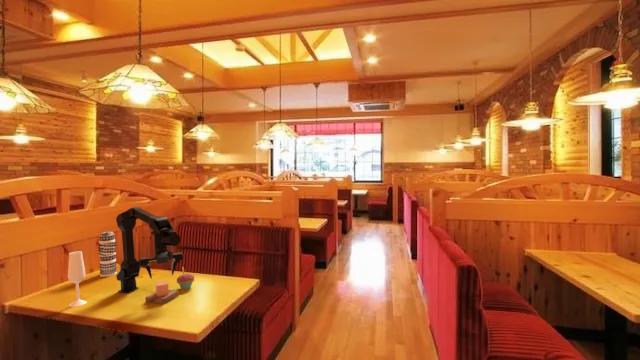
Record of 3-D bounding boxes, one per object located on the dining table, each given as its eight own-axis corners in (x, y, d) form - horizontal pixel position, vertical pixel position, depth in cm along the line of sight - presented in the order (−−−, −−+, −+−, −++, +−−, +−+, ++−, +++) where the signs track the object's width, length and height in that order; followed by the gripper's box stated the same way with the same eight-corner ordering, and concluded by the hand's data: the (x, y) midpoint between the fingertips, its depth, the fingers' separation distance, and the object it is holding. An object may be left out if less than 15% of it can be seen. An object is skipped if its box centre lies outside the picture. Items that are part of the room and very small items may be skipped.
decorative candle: (103, 277, 191) (102, 234, 190) (96, 275, 196) (94, 232, 195) (120, 273, 199) (118, 231, 198) (112, 270, 204) (111, 230, 203)
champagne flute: (76, 300, 159) (74, 250, 158) (90, 300, 159) (88, 250, 158) (65, 306, 152) (62, 254, 151) (79, 306, 152) (77, 254, 151)
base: (145, 302, 156) (145, 297, 156) (160, 294, 166) (160, 289, 166) (164, 304, 154) (164, 298, 154) (178, 295, 163) (178, 290, 163)
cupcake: (188, 291, 169) (187, 268, 168) (173, 290, 171) (172, 267, 170) (197, 285, 177) (197, 263, 177) (183, 284, 179) (182, 262, 178)
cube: (156, 296, 156) (156, 286, 156) (155, 293, 160) (155, 283, 160) (168, 294, 159) (168, 284, 159) (167, 291, 163) (166, 281, 163)
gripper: (139, 250, 147) (140, 285, 147) (184, 244, 156) (185, 277, 157) (137, 245, 156) (139, 278, 157) (180, 240, 166) (181, 271, 167)
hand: (161, 276), depth 159 cm, fingers open, 9 cm apart
